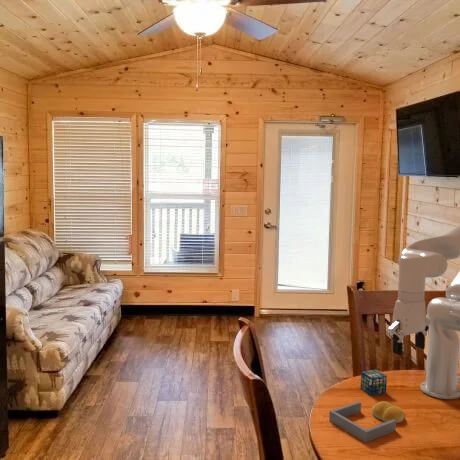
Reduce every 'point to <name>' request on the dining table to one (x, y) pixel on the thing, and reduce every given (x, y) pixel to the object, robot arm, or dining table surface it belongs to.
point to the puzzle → (373, 382)
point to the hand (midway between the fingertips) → (408, 350)
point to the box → (365, 435)
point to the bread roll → (387, 412)
